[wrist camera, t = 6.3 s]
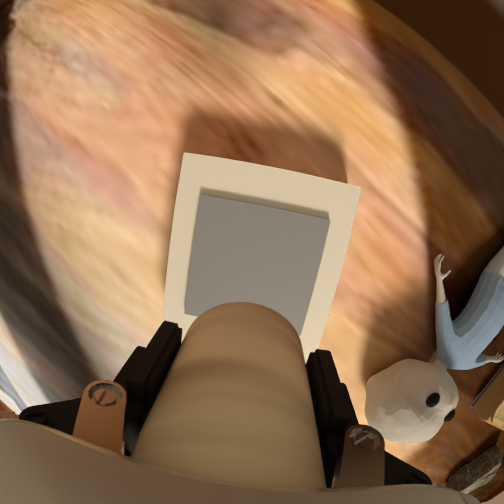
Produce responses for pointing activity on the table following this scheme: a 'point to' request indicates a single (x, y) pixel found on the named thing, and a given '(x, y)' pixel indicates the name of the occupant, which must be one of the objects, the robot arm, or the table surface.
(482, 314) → the toy
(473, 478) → the stone
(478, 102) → the table surface
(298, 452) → the cylinder
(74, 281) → the table surface
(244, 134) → the table surface
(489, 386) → the book
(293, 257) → the plinth
